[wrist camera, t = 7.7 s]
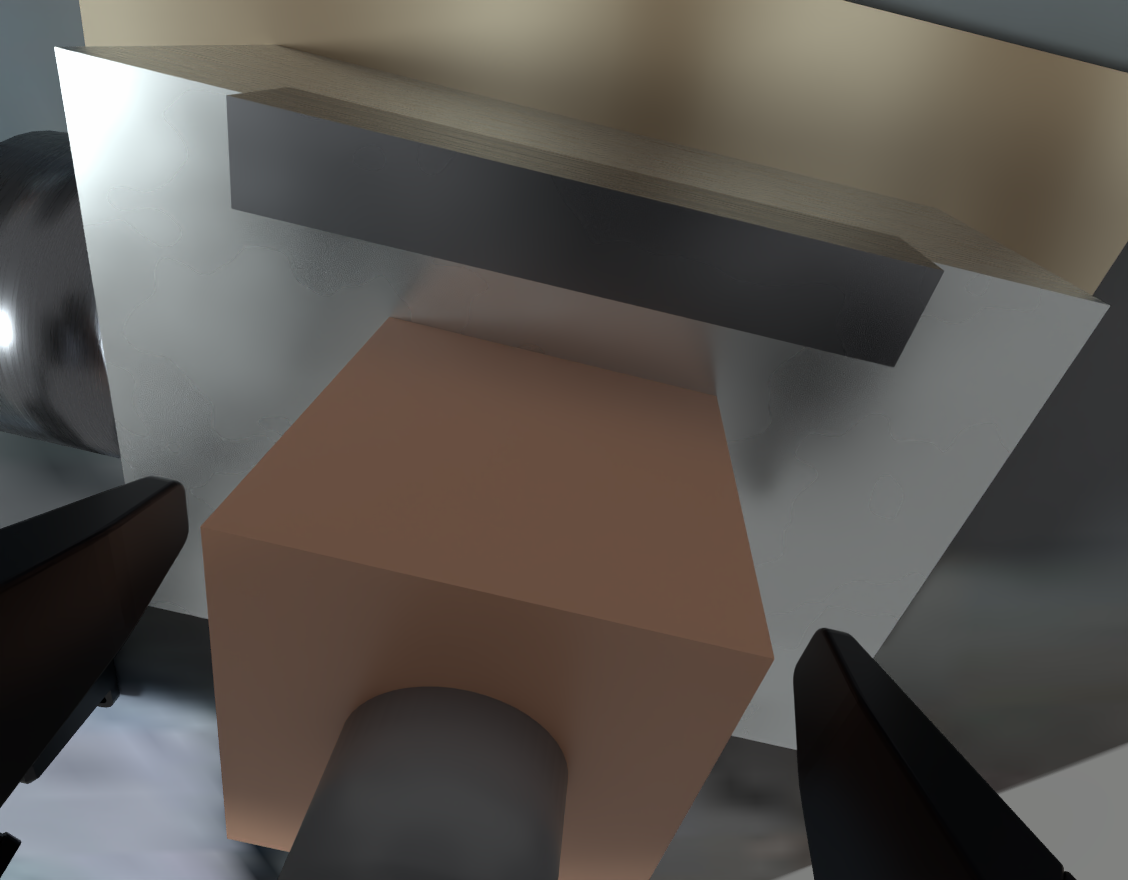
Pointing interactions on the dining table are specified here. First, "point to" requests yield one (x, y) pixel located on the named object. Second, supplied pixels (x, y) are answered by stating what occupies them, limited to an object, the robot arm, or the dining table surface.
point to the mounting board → (749, 93)
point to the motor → (512, 303)
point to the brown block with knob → (480, 618)
